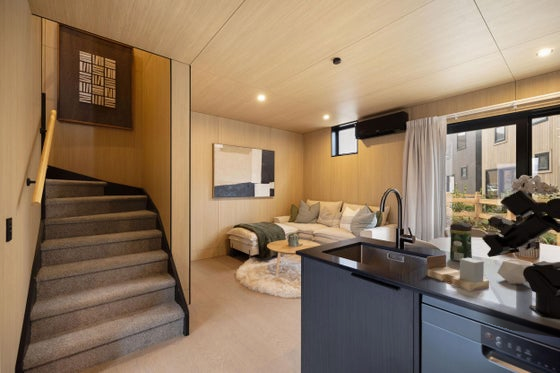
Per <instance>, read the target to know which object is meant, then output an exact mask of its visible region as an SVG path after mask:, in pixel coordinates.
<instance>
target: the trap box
mask: <svg viewBox="0 0 560 373" xmlns="http://www.w3.org/2000/svg"><path fill="white" fill-rule="evenodd" d="M426 276H427V277H431V278H433V279H435V280H438V281H440V282H443V281H444V283H446V282H447V283H446V284H449V285H452V286H455V287H457V288H460V289H462V290H464V291H468V292H472V291H477V290H482V289H486V288H490V279H486V278H484V277H483V281H481V282H476V283H473V282H470V281H467V280H465V279H462V278H460V270H458V269H455V268H451V267H449V266H447V254H439V255H437V254H436V255H431V256H426Z"/></svg>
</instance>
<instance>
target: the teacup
mask: <svg viewBox="0 0 560 373" xmlns="http://www.w3.org/2000/svg"><path fill="white" fill-rule="evenodd" d="M506 261H517V262H518V263H519V264H520V265H522V266H523V267H524V268H526V267H528V266H532V265H533V264H534V263H533V262H531V261H528V260H522V259H515V258H507V259H506Z"/></svg>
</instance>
